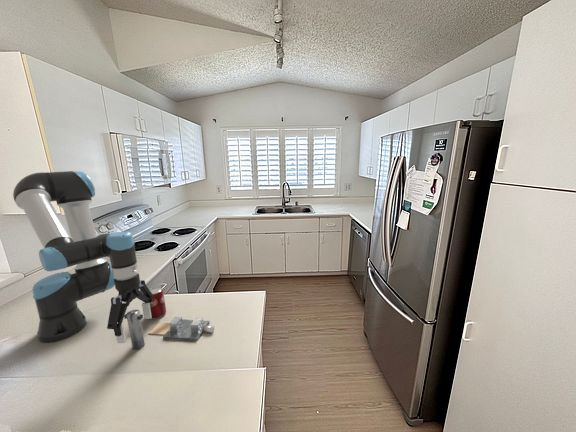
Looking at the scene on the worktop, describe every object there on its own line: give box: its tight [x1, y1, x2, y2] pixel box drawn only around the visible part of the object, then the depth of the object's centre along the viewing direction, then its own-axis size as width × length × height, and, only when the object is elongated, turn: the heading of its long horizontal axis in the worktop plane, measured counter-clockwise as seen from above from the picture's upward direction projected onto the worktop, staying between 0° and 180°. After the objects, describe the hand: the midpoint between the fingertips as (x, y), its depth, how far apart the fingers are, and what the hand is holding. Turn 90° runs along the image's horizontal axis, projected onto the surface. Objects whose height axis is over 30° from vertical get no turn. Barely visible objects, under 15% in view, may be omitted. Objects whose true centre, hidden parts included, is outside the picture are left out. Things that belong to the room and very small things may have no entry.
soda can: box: [148, 286, 167, 320], centre depth 112 cm, size 7×7×12 cm
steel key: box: [123, 309, 146, 351], centre depth 93 cm, size 6×4×14 cm, turn 84°
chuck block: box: [162, 316, 215, 342], centre depth 102 cm, size 18×11×4 cm, turn 84°
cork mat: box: [148, 322, 170, 336], centre depth 104 cm, size 7×7×1 cm
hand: (136, 329), depth 93 cm, fingers open, 13 cm apart
